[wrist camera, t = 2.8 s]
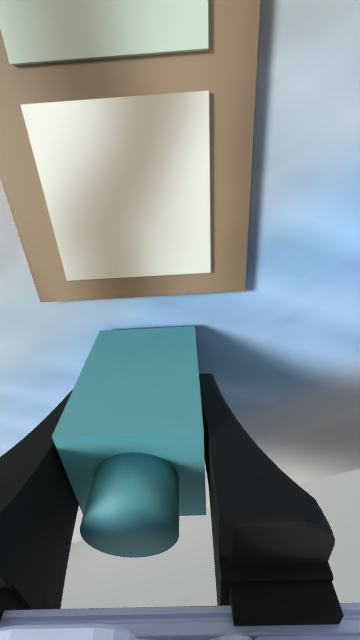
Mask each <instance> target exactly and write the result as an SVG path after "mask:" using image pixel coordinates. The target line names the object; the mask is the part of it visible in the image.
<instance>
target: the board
mask: <svg viewBox="0 0 360 640" xmlns="http://www.w3.org/2000/svg"><path fill="white" fill-rule="evenodd" d="M259 17H260V0H0V178H1V181H2V185H3V188H4V191H5V194H6V197H7V200H8V203H9V206H10V209H11V212H12V216H13V219H14V222H15V225H16V228H17V231H18V234H19V237H20V240H21V243H22V247H23V250H24V253H25V256H26V259H27V262H28V265H29V268H30V271H31V274H32V278H33V281H34V284H35V287H36V290H37V293H38V296H39V299H40V302H51V301H70V300H88V299H106V298H125V297H143V296H162V295H180V294H198V293H217V292H235V291H245V284H246V265H247V246H248V227H249V208H250V189H251V170H252V151H253V132H254V113H255V94H256V75H257V55H258V36H259Z"/></svg>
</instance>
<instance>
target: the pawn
mask: <svg viewBox="0 0 360 640" xmlns="http://www.w3.org/2000/svg"><path fill="white" fill-rule="evenodd" d="M52 439H53V441H54V443H55V446H56V448H57V451H58V453H59V456H60V458H61V461H62V463H63V466H64V468H65V471H66V473H67V476H68V478H69V481H70V483H71V486H72V488H73V491H74V493H75V496H76V498H77V501H78V503H79V506H80V508H81V511H82V513H83V518H82V522H81V526H80V533H81V536H82V538H83V539H84V540H85V542H86V543H88V544H89V545H90V546H92V547H93V548H95V549H97V550H99V551H101V552H104V553H107V554H111V555H115V556H120V557H147V556H152V555H156V554H159V553H162V552H164V551H166V550H168V549H170V548H171V547H172V546H173V545H174V544H175V543H176V542H177V540H178V537H179V516H187V515H206V497H205V463H204V430H203V418H202V406H201V394H200V382H199V369H198V357H197V345H196V333H195V326H186V327H166V328H146V329H126V330H106V331H100V332H99V334H98V336H97V338H96V340H95V343H94V345H93V347H92V349H91V351H90V354H89V356H88V358H87V360H86V362H85V365H84V367H83V369H82V371H81V373H80V376H79V378H78V380H77V382H76V384H75V387H74V389H73V391H72V393H71V395H70V398H69V400H68V402H67V404H66V406H65V409H64V411H63V413H62V415H61V417H60V420H59V422H58V424H57V426H56V428H55V430H54V433H53V435H52Z"/></svg>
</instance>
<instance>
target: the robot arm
mask: <svg viewBox="0 0 360 640" xmlns="http://www.w3.org/2000/svg"><path fill="white" fill-rule="evenodd" d="M199 382H200V394H201V406H202V418H203V430H204V459H205V465H206V471H207V477H208V485H209V495H210V508H211V521H212V533H213V548H214V560H215V561H214V562H215V575H216V589H217V603H218V606H184V607H137V608H90V609H60V607H61V601H62V594H63V587H64V580H65V574H66V569H67V563H68V557H69V552H70V546H71V541H72V536H73V531H74V526H75V521H76V516H77V511H78V506H79V503H78V501H77V498H76V496H75V493H74V491H73V488H72V486H71V483H70V481H69V478H68V476H67V473H66V471H65V468H64V466H63V463H62V461H61V458H60V456H59V453H58V451H57V448H56V446H55V443H54V441H53V439H52V435H53V433H54V430H55V428H56V426H57V424H58V422H59V420H60V417H61V415H62V413H63V411H64V409H65V406H66V404H67V402H68V400H69V398H70V395H71V393H72V391H73V390H72V391H71V392H70V393H69V394H68V395H67V396H66V397H65V398H64V399H63V401H62V402H61V403H60V404H59V405H58V406H57V407H56V408H55V409H54V410H53V411H52V412H51V413H50V414H49V415H48V416H47V417H46V418H45V419H44V420H43V421H42V422H41V423H40V424H39V425H38V426H37V427H36V428H35V429H34V430H33V431H31V432H30V433H29V434H28V435H27V436H26V437H25V438H24V439H22V440H21V441H20V442H19V443H18V444H16V445H15V446H14V447H13V448H11V449H10V450H9V451H8V452H6V453H5V454H4V455H2V456H1V457H0V640H360V603H339V601H338V598H337V595H336V592H335V589H334V586H333V584H332V581H333V574H332V571H331V569H330V566H329V563H328V560H329V557H330V555H331V552H332V550H333V547H334V543H335V538H334V536H333V532H332V530H331V527H330V525H329V523H328V521H327V519H326V517H325V516H324V514H323V512H322V510H321V508H320V507H319V505H318V503H317V502H316V500H315V499H314V498H313V497H312V496H311V495H309V494H308V493H307V492H306V491H304V490H303V489H302V488H301V487H300V486H298V485H297V484H296V483H295V482H294V481H293V480H291V479H290V478H289V477H288V476H287V475H286V474H285V473H284V472H283V471H282V470H281V469H279V468H278V467H277V466H276V465H275V463H274V462H273V461H272V460H271V459H270V458H269V457H268V456H267V455H266V454H265V453H264V452H263V451H262V450H261V449H260V448H259V447H258V446H257V444H256V443H255V442H254V441H253V440H252V439H251V437H250V436H249V435H248V434H247V432H246V431H245V430H244V429H243V427H242V426H241V425H240V423H239V422H238V420H237V419H236V417H235V416H234V414H233V413H232V411H231V410H230V408H229V406H228V405H227V403H226V402H225V400H224V398H223V396H222V394H221V392H220V391H219V389H218V386H217V384H216V382H215V379H214V376H213V375H212V374H199Z"/></svg>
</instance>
